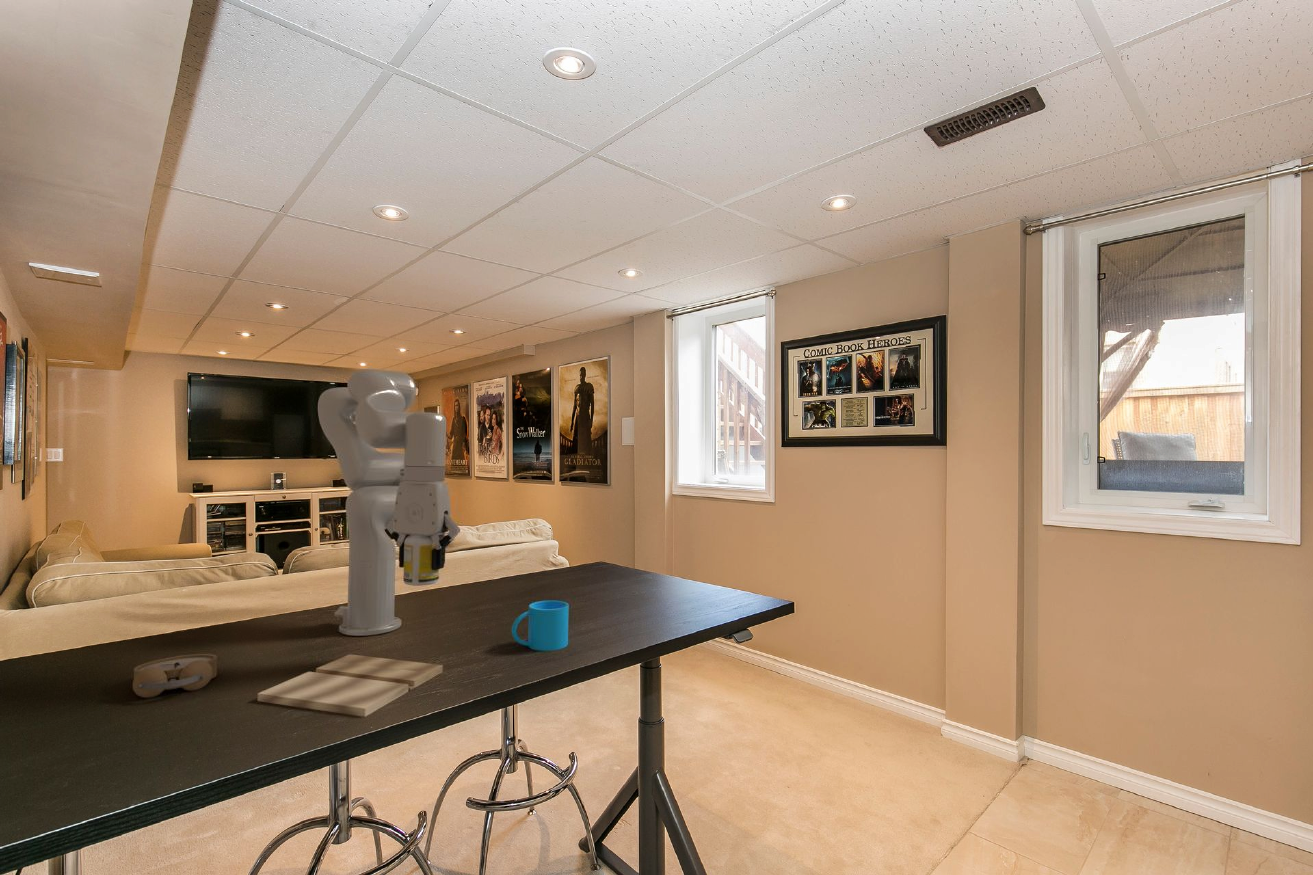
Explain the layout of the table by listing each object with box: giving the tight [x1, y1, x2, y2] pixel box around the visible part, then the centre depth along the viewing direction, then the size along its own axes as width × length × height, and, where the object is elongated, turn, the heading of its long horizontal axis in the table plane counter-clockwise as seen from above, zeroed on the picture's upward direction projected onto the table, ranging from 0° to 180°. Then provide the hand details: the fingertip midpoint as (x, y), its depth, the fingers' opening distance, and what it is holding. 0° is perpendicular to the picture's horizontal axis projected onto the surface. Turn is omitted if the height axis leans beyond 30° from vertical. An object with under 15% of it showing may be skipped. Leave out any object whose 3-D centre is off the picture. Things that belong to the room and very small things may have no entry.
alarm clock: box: [132, 653, 219, 699], centre depth 102 cm, size 11×5×15 cm
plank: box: [257, 671, 409, 717], centre depth 99 cm, size 20×10×1 cm, turn 75°
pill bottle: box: [402, 535, 440, 587], centre depth 119 cm, size 6×6×12 cm
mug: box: [511, 600, 570, 652], centre depth 126 cm, size 12×8×8 cm
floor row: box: [315, 653, 444, 691], centre depth 108 cm, size 20×9×1 cm, turn 75°
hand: (421, 566), depth 119 cm, fingers closed on pill bottle, 6 cm apart
